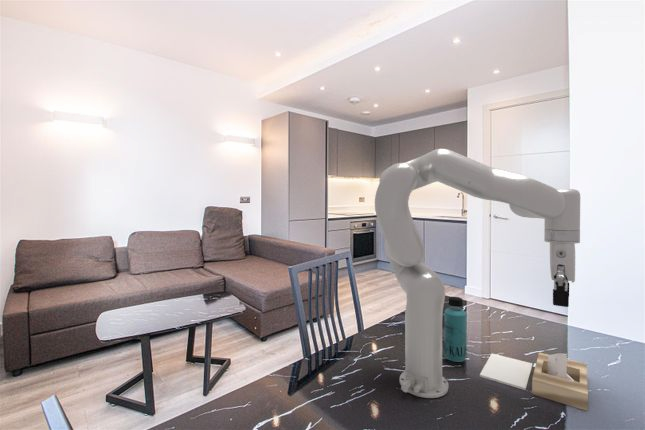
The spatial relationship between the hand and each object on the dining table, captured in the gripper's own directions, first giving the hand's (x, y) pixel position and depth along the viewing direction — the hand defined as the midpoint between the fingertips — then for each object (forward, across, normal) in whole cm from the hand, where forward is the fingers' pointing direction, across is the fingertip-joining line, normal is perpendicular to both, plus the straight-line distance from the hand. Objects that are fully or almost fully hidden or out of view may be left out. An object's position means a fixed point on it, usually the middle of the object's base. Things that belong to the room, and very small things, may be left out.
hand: (561, 300), depth 86 cm
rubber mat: (+23, 0, +13) cm, 26 cm away
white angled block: (+23, 0, 0) cm, 23 cm away
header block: (+23, 0, 0) cm, 23 cm away
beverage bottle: (+23, -4, +26) cm, 35 cm away
